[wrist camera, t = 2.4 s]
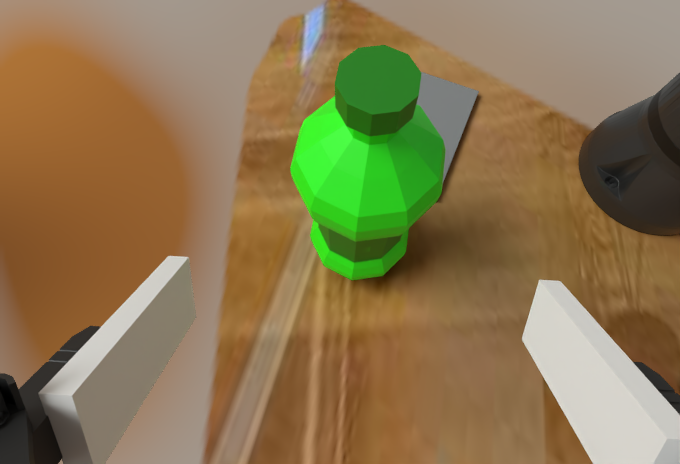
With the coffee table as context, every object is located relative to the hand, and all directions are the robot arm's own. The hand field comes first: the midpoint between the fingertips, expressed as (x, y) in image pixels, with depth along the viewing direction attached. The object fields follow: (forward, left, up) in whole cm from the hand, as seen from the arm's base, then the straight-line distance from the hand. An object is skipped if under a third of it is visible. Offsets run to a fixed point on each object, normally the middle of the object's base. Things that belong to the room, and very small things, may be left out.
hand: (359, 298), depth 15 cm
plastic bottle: (+3, -10, -26) cm, 28 cm away
